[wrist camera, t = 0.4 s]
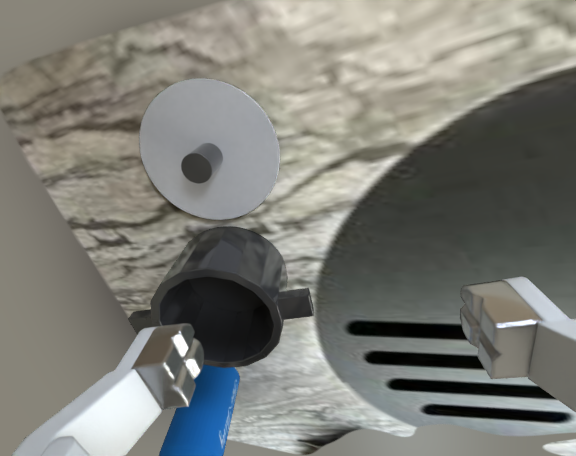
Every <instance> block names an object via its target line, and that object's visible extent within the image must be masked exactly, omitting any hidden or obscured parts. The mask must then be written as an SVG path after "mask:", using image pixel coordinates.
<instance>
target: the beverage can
mask: <svg viewBox="0 0 576 456" xmlns="http://www.w3.org/2000/svg"><path fill="white" fill-rule="evenodd" d="M239 381H240V376H239V373H238V371H237V370H236V369H235V367H231V368H220V367H214V366H208V365H203V367H202V370H201V373H200V374H199V375H198V376H197V377H196V378H195V379H194V382H195V384H196V387H195V390H194V393H193V396H192V398H191V401H190V404H189V406H188V407H180V408H177V409H176V411H175V414H174V417H173V419H172V422H171V424H170V427H169V430H168V432H167V435H166V437H165V440H164V443H163V445H162V448H161V451H160V454H159V456H223V454H224V449H225V445H226V441H227V436H228V431H229V427H230V422H231V418H232V413H233V408H234V404H235V399H236V394H237V390H238V385H239Z"/></svg>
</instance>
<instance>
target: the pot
mask: <svg viewBox="0 0 576 456" xmlns="http://www.w3.org/2000/svg"><path fill="white" fill-rule="evenodd" d="M287 279H288V276H287V271H286V266H285V263H284V260H283V258H282V256H281V254H280V253H279V251H278V250H277V249H276V248H275V247H274V246H273V244H272V243H270V242H269V241H268V240H267V239H265V238H264V237H262V236H261V235H259V234H257V233H255V232H252V231H250V230H247V229H243V228H238V227H217V228H213V229H209V230H206V231H204V232H202V233H200V234H198V235H197V236H196V237H194V238H193V239H192V240H191V241H189V242H188V244H187V245H186V247H185V248H184V250H183V251H182V253H181V254H180V256H179V257H178V259H177V260H176V262H175V263H174V265H173V266H172V267H171V269H170V270H169V272H168V273H167V275H166V276H165V278H164V279H163V281H162V282H161V284H160V285H159V287H158V289H157V291H156V293H155V294H154V296H153V298H152V300H151V309H150V310H143V311H135V312H133V313H132V314H131V316H130V317H129V318H128V319H129V321H130V323H131V325H132V326H133V328H134V330H135V331H136V333H137V335H138V333H139V332H140V331H141V330H142V329H144V328H149V327H158V326H165V325H174V324H183V323H188V324H191V326H192V327H193V329H194V331H195V333H194V335H193V338H195V339H196V340H198V341H199V342H200V343H201V345H202V347H203V352H204V362H203V365H208V366H214V367H220V368H231V367H241V366H246V365H250V364H252V363H254V362H256V361H259V360H261V359H263V358H265V357H267V355H268V354H269V353H270V352H271V351H272V350H273V349H274V348H275V347H276V346H277V345H278V343H279V340H280V336H281V332H282V328H283V321H284V320H285V319H293V318H302V317H310V316H314V309H313V304H312V300H311V296H310V291H309V288H305V289H297V290H290V291H286V289H287Z"/></svg>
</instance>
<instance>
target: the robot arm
mask: <svg viewBox="0 0 576 456" xmlns="http://www.w3.org/2000/svg"><path fill="white" fill-rule="evenodd" d="M461 299H462V300H463V302H464V303H465V304H464V305H463V307H462V308H461V309H460V319H461V324H462V328H463V331H464V333H465V335H466V337H467V339H468V341H469V343H470V344H472V345H474V346H475V347H477V348H478V358H479V360H480V361H481V363H482V365H483V366H484V368H485V370H486V371H487V373H488V375H489V376H490V378H491V379H500V378H515V377H528V379H530V380H531V381H532V382H534V383H535V384H537V385H538V386H539V387H541V388H542V389H544V390H545V391H546V392H548V393H549V394H551V395H552V396H554V397H555V398H556V399H558V400H559V401H561V402H562V403H563V404H565V405H566V406H568V407H569V408H570V409H572V410H573V411H575V412H576V319H569V318H568V317H567V316H566V315H565V314H564V313H563V312H562V311H561V310H560V309H559V308H558V307H557V306H556V305H555V304H554V303H552V302H551V301H550V300H549V299H548V298H547V297H546V296H545V295H544V294H543V293H542V292H541V291H540V290H539V289H538V288H537V287H536V286H535V285H534V284H532V283H531V282H530V281H529V280H528V279H527V278H525V277H516V278H510V279H503V280H498V281H491V282H484V283H477V284H470V285H463V286H462V288H461ZM194 333H195V331H194V329H193V327H192V326H191V324H188V323H183V324H174V325H165V326H158V327H149V328H144V329H142V330H141V331H140V332H139V333H138V335H137V337H136V338H135V340H134V341H133V343H132V344H131V346H130V348H129V349H128V350H127V352H126V354H125V355H124V357H123V358H122V360H121V361H120V363H119V364H118V366H117V368H116V369H115V371H113V372H109V373H107V374H106V375H105V376H104V377H102V378H101V379H100V380H99V381H97V382H96V383H95V384H93V385H92V386H91V387H90V388H88V389H87V390H86V391H84V392H83V393H82V394H81V395H79V396H78V397H77V398H76V399H74V400H73V401H72V402H70V403H69V404H68V405H67V406H65V407H64V408H63V409H61V410H60V411H59V412H57V413H56V414H55V415H54V416H52V417H51V418H50V419H49V420H47V421H46V422H45V423H43V424H42V425H41V426H40V427H38V428H37V429H36V430H34V431H33V432H32V433H31V434H30V435H28V436H27V437H25V438H24V440H23V441H22V442H21V444H20V445H19V446H18V448H17V449H16V450H15V451H14V453H13V454H12V455H11V456H125V455H126V454H127V453H128V452H129V450H130V449H131V448H132V447H133V446H134V444H135V443H136V442H137V441H138V440H139V439H140V437H141V436H142V435H143V434H144V433H145V431H146V430H147V429H148V428H149V427H150V425H151V424H152V423H153V422H154V421H155V420H156V418H157V417H158V416H159V415H160V414H161V412H162V410H164V409H171V408H180V407H188V406H189V404H190V401H191V398H192V396H193V393H194V390H195V387H196V384H195V382H194V379H195V378H196V377H197V376H198V375H199V374H200V373H201V370H202V367H203V362H204V352H203V347H202V345H201V343H200V342H199V341H198V340H196V339H195V338H193V335H194Z"/></svg>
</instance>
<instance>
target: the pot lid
mask: <svg viewBox="0 0 576 456" xmlns="http://www.w3.org/2000/svg"><path fill="white" fill-rule="evenodd" d="M139 146H140V154H141V158H142V162H143V164H144V167H145V170H146V172H147V174H148V176H149V178H150V179H151V181H152V182H153V184H154V185H155V187H156V188H157V189H158V190H159V192H160V193H161V194H162V195H163V196H164V197H165V198H166V199H167V200H168V201H170V202H171V203H172V204H174V205H175V206H176V207H178V208H180V209H181V210H183V211H185V212H187V213H189V214H192V215H195V216H197V217H201V218H205V219H213V220H224V219H232V218H236V217H239V216H242V215H244V214H247V213H249V212H250V211H252V210H254V209H255V208H256V207H258V206H259V205H260V204H261V203H262V202H263V201H264V200H265V199H266V198H267V196H268V195H269V194H270V192H271V190H272V189H273V187H274V184H275V182H276V179H277V176H278V172H279V166H280V148H279V142H278V138H277V135H276V132H275V129H274V127H273V125H272V123H271V121H270V119H269V117H268V116H267V114H266V113H265V112H264V110H263V109H262V108H261V106H260V105H259V104H258V103H257V102H256V101H255V100H254V99H253V98H252V97H250V96H249V95H248V94H246V93H245V92H244V91H242V90H240V89H239V88H237V87H235V86H233V85H231V84H228V83H226V82H223V81H219V80H215V79H208V78H194V79H188V80H183V81H180V82H177V83H174V84H173V85H171V86H169V87H167V88H165V89H164V90H163V91H161V92H160V93H159V94H158V95H157V96H156V97H155V98H154V99H153V100H152V102H151V103H150V105H149V106H148V107H147V109H146V112H145V114H144V116H143V119H142V122H141V126H140V133H139Z"/></svg>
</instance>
